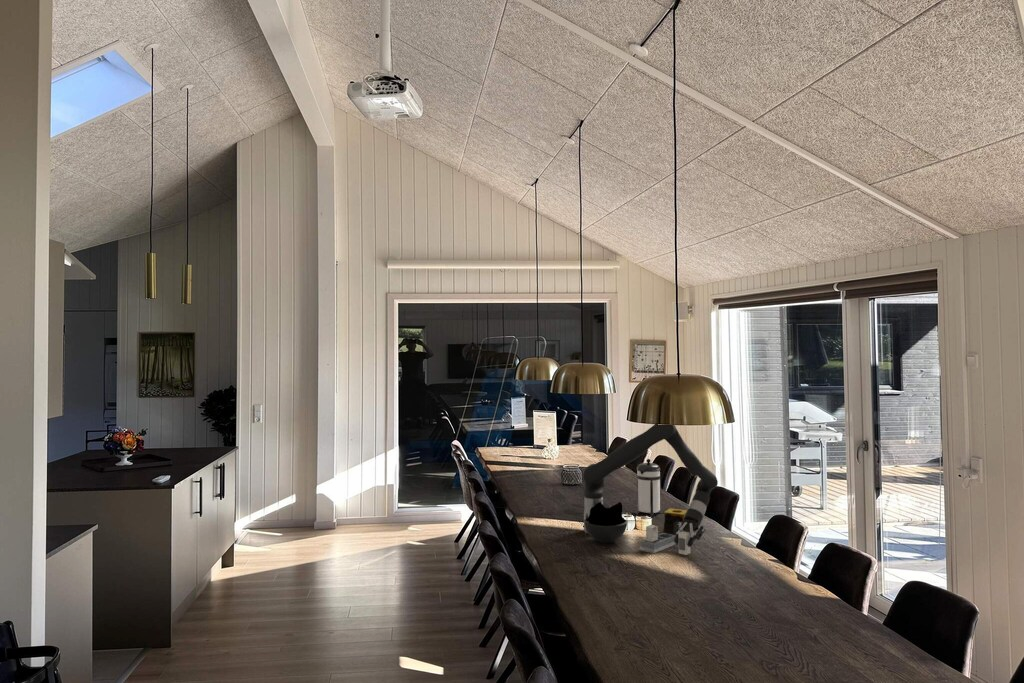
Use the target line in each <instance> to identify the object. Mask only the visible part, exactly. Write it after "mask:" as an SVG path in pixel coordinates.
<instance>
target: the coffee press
mask: <svg viewBox="0 0 1024 683" xmlns="http://www.w3.org/2000/svg"><path fill="white" fill-rule="evenodd" d="M636 471H637V472H636V473H637V475H636V478H637V480H636V482H637V483H636V484H637V485H636V486H637V488H636V491H637V494H636V496H637V497H636V498H637V502H636V504H637V505H636V506H637V508H636V509H635V511H634V512H635V514H636V515H638V514H639V513H646V514H650V517H651V516H652V517H654V513H660V514H663V510H662V509H661V497H662V476H661V472H660V471H661V468H660V465H658V464H657V463H654V462H651V459H650V458H647V459H646V462H641V463H639V464H638V465H637V467H636Z"/></svg>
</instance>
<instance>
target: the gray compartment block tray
mask: <svg viewBox="0 0 1024 683" xmlns="http://www.w3.org/2000/svg"><path fill="white" fill-rule="evenodd" d="M658 528H659V527H658V525H654V524H649V525H646V526H645V539H643V540H641V541H640V546H639V551H642V552H647V553H651V554H657V553H658V552H660V551H664V550H665V549H669V548H671V547H673V545H674V546H675V542H674V539H675V536H676V535H675V534H672V533H667V532H661V533H659V530H658ZM658 533H659V534H658Z"/></svg>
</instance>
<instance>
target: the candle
mask: <svg viewBox="0 0 1024 683" xmlns="http://www.w3.org/2000/svg"><path fill="white" fill-rule="evenodd" d="M687 510H688V509H680V508H679V509H678V508H677V509H676V508H670V507H669V508H668V509H667V510H665V511H664V512H663V515H664V516H663V517H664V521H663V533H666V534H674V532H673V530H674V526H675V522H676V521H678V522H682V521H683V520H684V517H685V514H686V512H687ZM681 526H682V525H681ZM681 526H680V527H681ZM680 527H679V529H680ZM683 531H684V530H683Z"/></svg>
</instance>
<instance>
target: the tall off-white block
mask: <svg viewBox="0 0 1024 683" xmlns="http://www.w3.org/2000/svg"><path fill="white" fill-rule="evenodd" d="M690 537H691V533H689V532H684V531H683V532H680V533H679V542H678V554H679V555H684V556H687V555H689V554H691V553H692V552H691V548H692V546H691V547H688V545H687V543H688V541H689V539H690Z"/></svg>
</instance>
